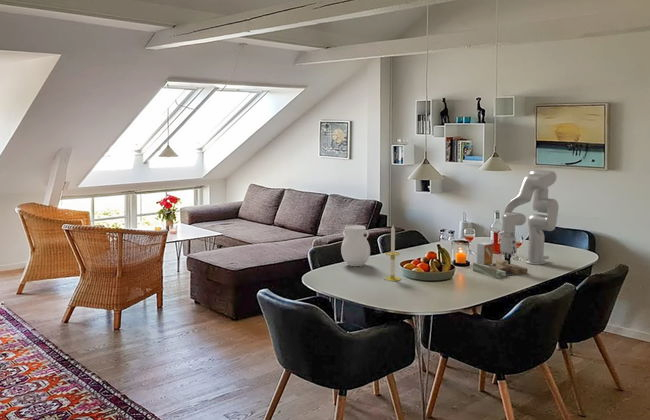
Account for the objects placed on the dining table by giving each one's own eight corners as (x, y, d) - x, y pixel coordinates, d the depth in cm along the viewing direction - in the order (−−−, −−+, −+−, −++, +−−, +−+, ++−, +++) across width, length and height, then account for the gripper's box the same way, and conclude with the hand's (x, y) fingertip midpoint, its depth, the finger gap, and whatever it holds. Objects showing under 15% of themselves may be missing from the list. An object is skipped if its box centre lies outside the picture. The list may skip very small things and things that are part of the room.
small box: (483, 264, 410) (484, 244, 408) (476, 263, 415) (477, 243, 413) (492, 263, 414) (493, 243, 412) (485, 261, 420) (485, 241, 418)
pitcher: (336, 267, 405) (336, 228, 402) (346, 261, 422) (346, 223, 419) (364, 269, 398) (364, 230, 395) (373, 263, 415) (374, 225, 412)
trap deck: (504, 266, 405) (504, 258, 405) (527, 273, 388) (527, 265, 387) (472, 270, 394) (473, 262, 394) (494, 278, 377) (495, 269, 376)
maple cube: (502, 265, 395) (502, 259, 394) (507, 267, 390) (508, 261, 390) (495, 266, 392) (496, 260, 392) (501, 268, 388) (501, 261, 387)
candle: (396, 282, 369) (397, 226, 364) (380, 279, 374) (381, 224, 369) (403, 278, 377) (404, 223, 372) (388, 276, 382) (389, 222, 378)
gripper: (521, 236, 385) (520, 265, 388) (504, 232, 398) (503, 260, 401) (512, 237, 382) (511, 267, 384) (495, 233, 395) (494, 262, 398)
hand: (507, 263), depth 393 cm, fingers closed
